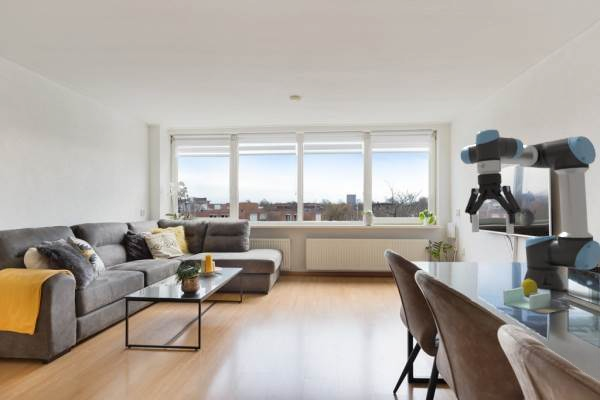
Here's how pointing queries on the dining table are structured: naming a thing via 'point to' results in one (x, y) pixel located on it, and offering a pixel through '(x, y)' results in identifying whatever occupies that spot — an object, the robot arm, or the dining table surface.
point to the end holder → (534, 303)
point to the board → (547, 310)
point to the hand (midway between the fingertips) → (492, 232)
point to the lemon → (529, 287)
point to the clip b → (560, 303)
